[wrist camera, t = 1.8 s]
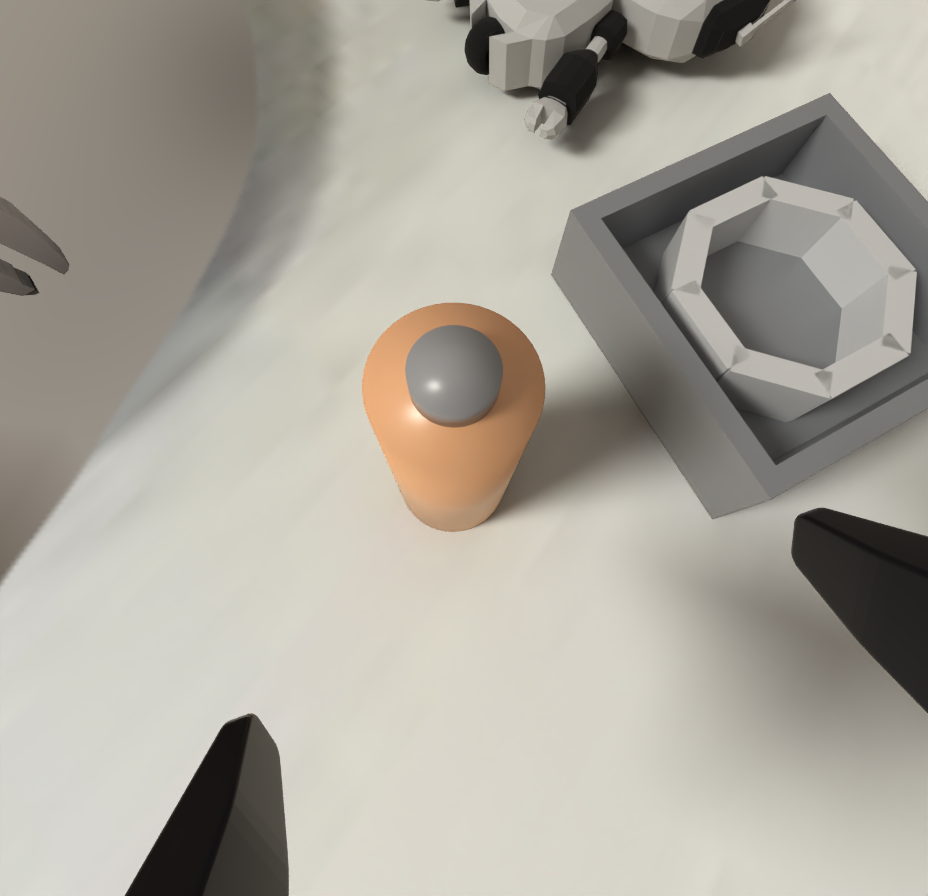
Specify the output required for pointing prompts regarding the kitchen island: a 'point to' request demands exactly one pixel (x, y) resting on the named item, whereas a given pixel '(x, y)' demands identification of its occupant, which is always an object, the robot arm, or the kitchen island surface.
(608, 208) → the housing
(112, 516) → the kitchen island surface
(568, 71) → the robot toy
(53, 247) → the caliper
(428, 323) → the orange cylinder
